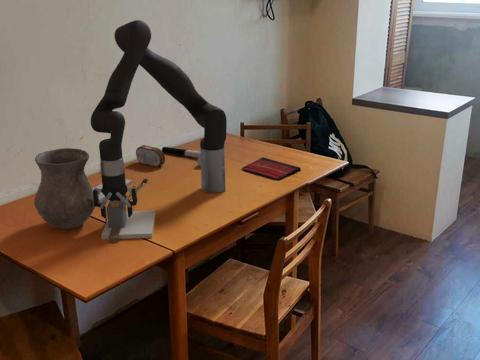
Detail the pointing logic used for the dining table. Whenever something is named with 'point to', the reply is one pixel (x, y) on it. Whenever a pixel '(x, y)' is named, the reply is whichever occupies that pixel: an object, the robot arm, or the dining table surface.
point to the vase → (64, 188)
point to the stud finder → (116, 214)
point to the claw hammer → (183, 153)
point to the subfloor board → (132, 227)
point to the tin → (150, 156)
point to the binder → (271, 168)
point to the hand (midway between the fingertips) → (117, 216)
